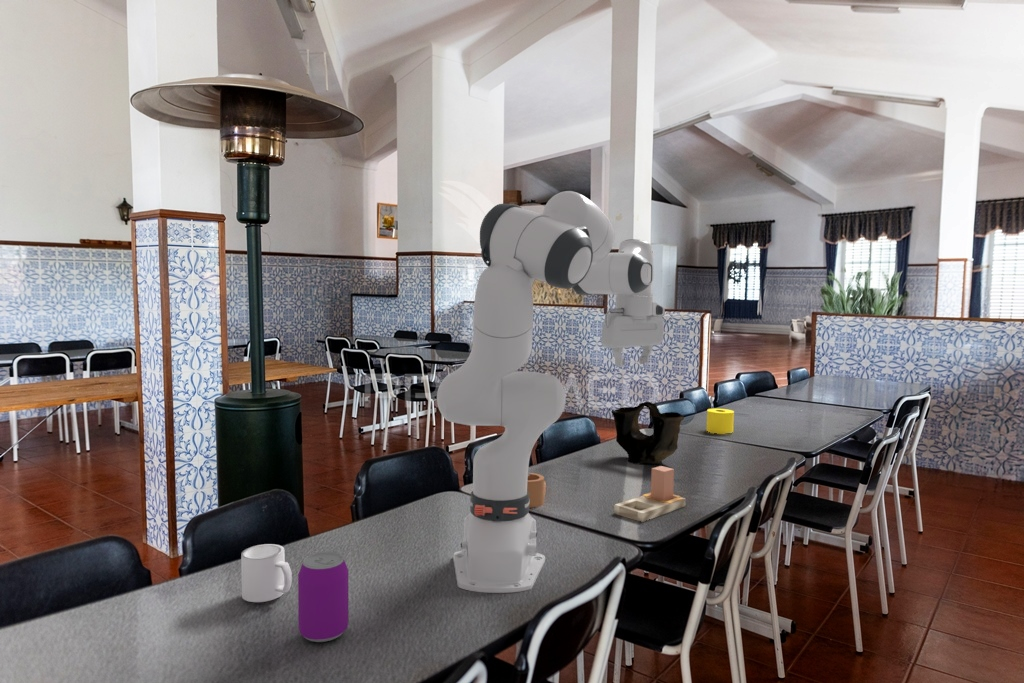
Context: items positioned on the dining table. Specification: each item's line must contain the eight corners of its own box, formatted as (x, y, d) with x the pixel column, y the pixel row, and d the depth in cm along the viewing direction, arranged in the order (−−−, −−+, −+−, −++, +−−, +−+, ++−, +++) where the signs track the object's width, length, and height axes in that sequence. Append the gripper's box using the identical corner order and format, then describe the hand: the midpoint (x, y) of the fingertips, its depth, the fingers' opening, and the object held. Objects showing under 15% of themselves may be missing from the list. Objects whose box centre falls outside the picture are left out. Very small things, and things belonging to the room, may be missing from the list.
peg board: (642, 523, 161) (642, 512, 161) (614, 514, 167) (614, 503, 167) (685, 508, 173) (685, 497, 173) (657, 500, 179) (657, 490, 179)
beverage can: (288, 638, 106) (287, 564, 105) (318, 616, 113) (318, 546, 112) (329, 648, 103) (328, 572, 102) (358, 625, 110) (357, 553, 109)
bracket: (542, 509, 171) (543, 482, 171) (510, 507, 172) (510, 480, 172) (546, 488, 189) (547, 464, 189) (516, 487, 190) (517, 462, 189)
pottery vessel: (688, 467, 214) (691, 405, 212) (671, 473, 206) (673, 409, 204) (622, 453, 231) (624, 395, 229) (603, 459, 223) (605, 399, 221)
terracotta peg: (663, 510, 171) (664, 471, 170) (650, 506, 174) (651, 468, 173) (672, 507, 173) (674, 469, 173) (660, 503, 176) (661, 465, 176)
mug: (304, 590, 123) (303, 549, 122) (276, 607, 116) (276, 564, 115) (261, 581, 126) (261, 541, 126) (232, 597, 119) (231, 555, 119)
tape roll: (734, 433, 266) (735, 410, 266) (731, 438, 257) (732, 414, 257) (708, 431, 271) (709, 407, 270) (704, 435, 261) (705, 411, 261)
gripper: (616, 308, 154) (615, 369, 155) (668, 308, 168) (667, 363, 169) (595, 308, 159) (594, 366, 160) (648, 307, 173) (646, 361, 174)
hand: (632, 365), depth 165 cm, fingers open, 8 cm apart
